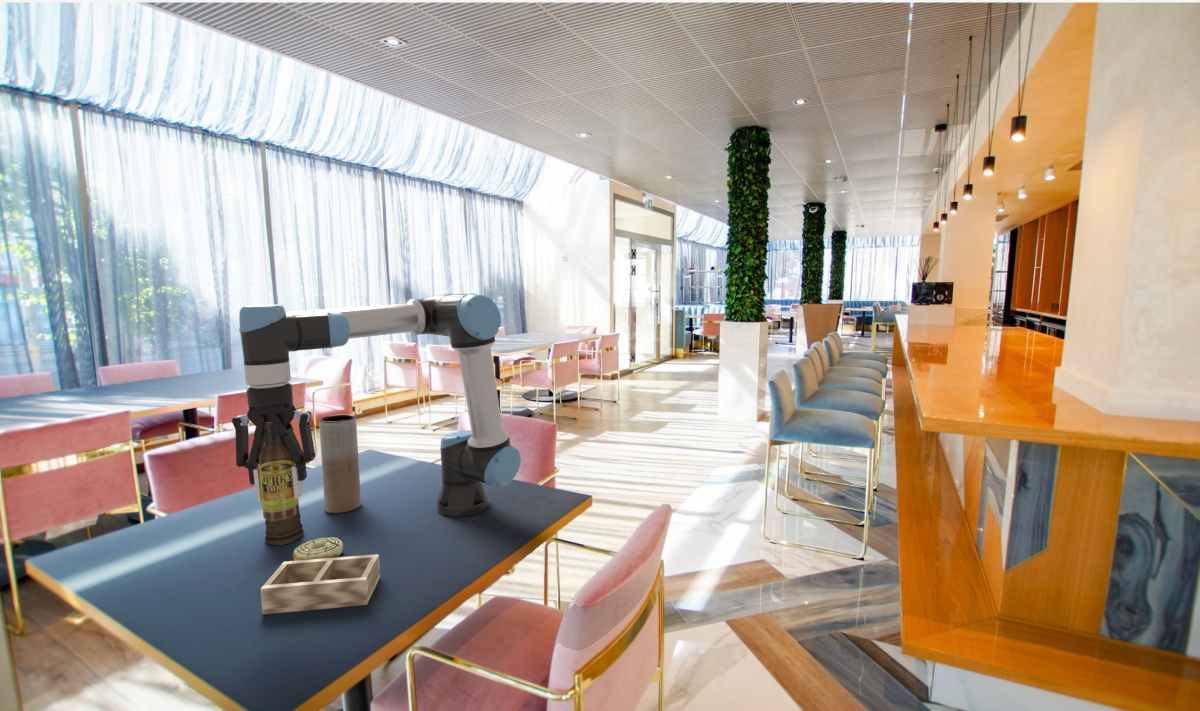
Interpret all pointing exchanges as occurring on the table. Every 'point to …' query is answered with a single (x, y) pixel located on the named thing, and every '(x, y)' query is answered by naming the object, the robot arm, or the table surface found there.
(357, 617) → the table surface
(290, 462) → the sauce bottle
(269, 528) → the container
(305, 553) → the decorated donut
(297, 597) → the caddy
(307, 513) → the table surface
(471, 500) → the robot arm
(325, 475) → the vase
